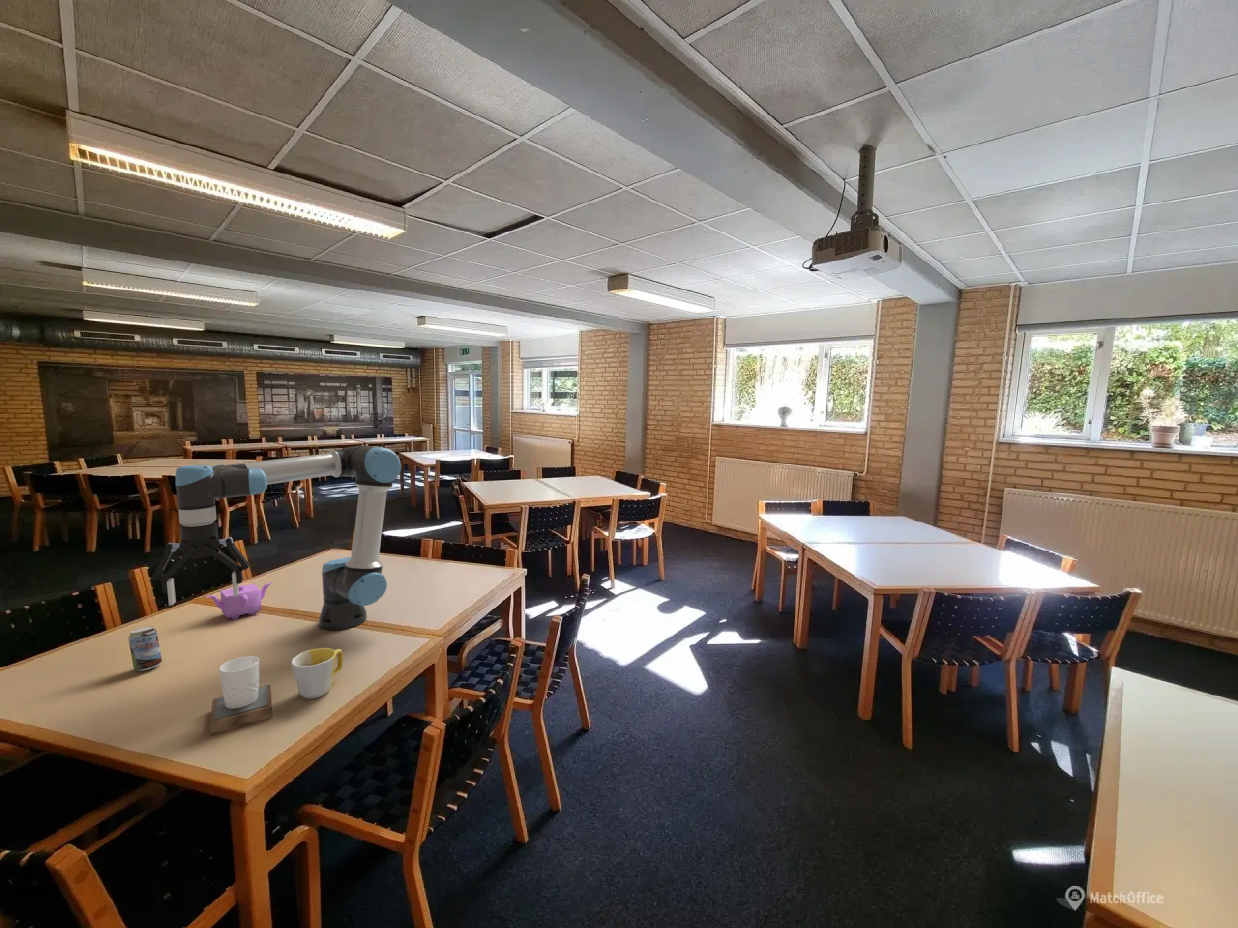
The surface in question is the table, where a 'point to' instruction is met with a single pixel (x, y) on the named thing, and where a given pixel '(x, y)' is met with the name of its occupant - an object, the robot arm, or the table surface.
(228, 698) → the white cup
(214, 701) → the walnut picture frame
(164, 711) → the table surface
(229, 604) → the teapot
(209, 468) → the robot arm
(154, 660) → the beverage can
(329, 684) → the mug
